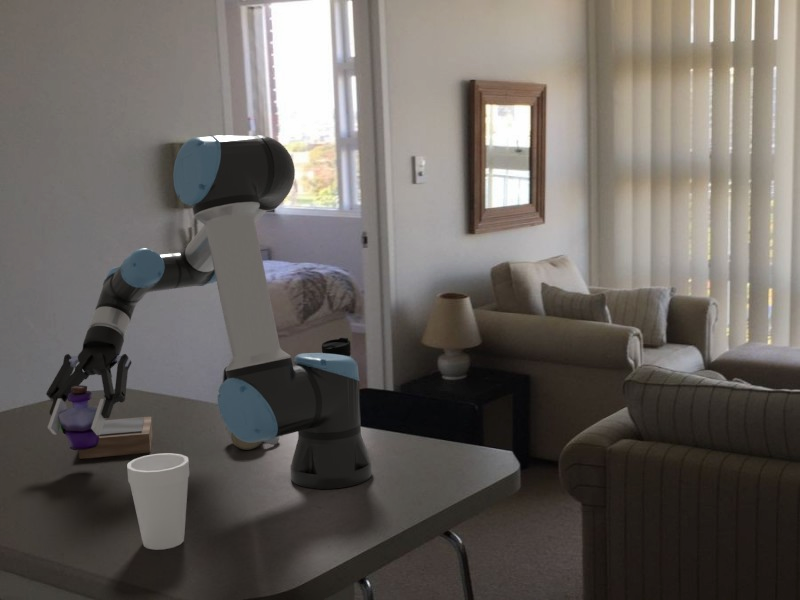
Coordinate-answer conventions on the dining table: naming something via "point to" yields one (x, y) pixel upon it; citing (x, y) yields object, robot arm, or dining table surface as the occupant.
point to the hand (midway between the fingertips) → (73, 431)
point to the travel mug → (337, 347)
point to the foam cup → (160, 498)
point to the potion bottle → (79, 420)
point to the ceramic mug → (248, 445)
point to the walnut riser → (122, 438)
